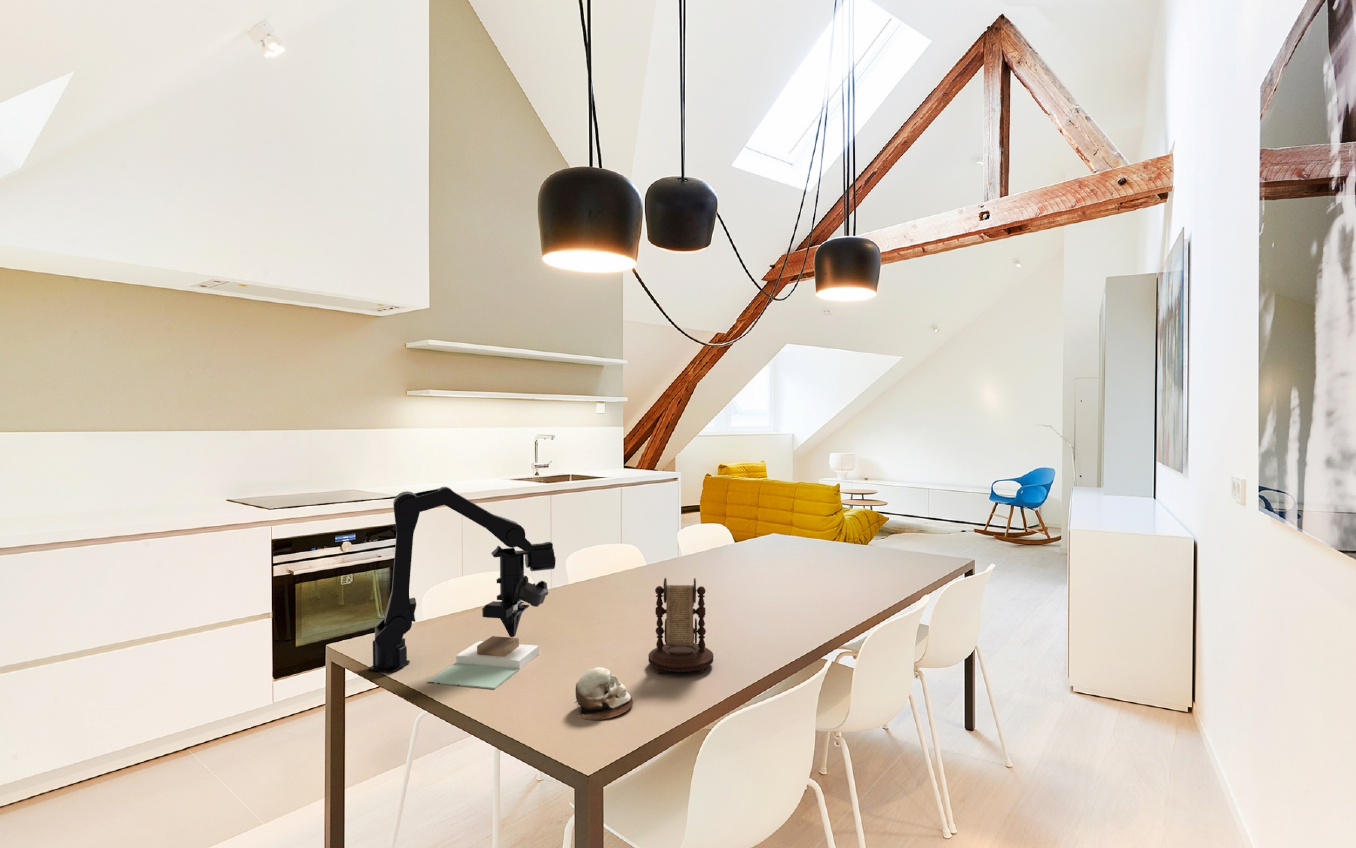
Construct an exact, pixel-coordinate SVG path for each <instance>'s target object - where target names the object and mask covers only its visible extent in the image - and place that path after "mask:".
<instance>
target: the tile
mask: <svg viewBox="0 0 1356 848" xmlns="http://www.w3.org/2000/svg"><path fill="white" fill-rule="evenodd" d="M519 644H520V639H519V637H510V636H509V637H508V636H507V637H506V636H494V635H492V636H490V637H489V638H487V639H486V640H484V642H482V643H481V644H479V645H478V646H477V655H488V656H500V657H505V656H506V655H508V654H509V653H511V652H512V651H513V650H515V649H516V648H518V647H519Z"/></svg>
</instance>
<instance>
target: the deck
mask: <svg viewBox="0 0 1356 848" xmlns="http://www.w3.org/2000/svg"><path fill="white" fill-rule="evenodd" d="M484 641H485V640H484ZM484 641H482V640H481V641H480V640H479V641H477V642H475V643H473V644H472V645H470V646H469V647H467V648H465V649H464V650H462V651H461V652H458V653H457V654H456V655H455V663H461V664H473V665H484V666H496V667H507V668H518V669H519V670H518V671H520V670H521V669H523V668H524V667H525V666H526V665H527V664H528V663H530V662H531V661H532V660H534V659H535V658H536V657H537V656H539V655H540V645H535V644H520V643H519V647H518V648H516V649H515V650H513V651H512V652H511V653H509V654H508V655H506V656H505V657H500V656H488V655H477V646H478V645H479V644H481V643H482V642H484Z"/></svg>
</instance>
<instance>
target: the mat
mask: <svg viewBox="0 0 1356 848" xmlns="http://www.w3.org/2000/svg"><path fill="white" fill-rule="evenodd" d="M518 671H520V670H519V669H518V668H507V667H496V666H484V665H473V664H461V663H456V662H455V663H453V664H452V665H450V666H449V667H447V668H445V669H444V670H442V671H441V672H440V673H438V674H436V675H435V676H433V677H432V678H430V679H429V680H427V682H434V683H433V684H437V683H440V684H439V685H447V686H448V685H449V686H457V685H460V686H459V687H469V688H479V689H480V688H481V689H489V690H496V689H497V688H498V687H500V686H501V685H502V684H503V683H504V682H506V681H507V680H508V679H510V678H511V677H512V676H513V675H515V674H516V673H517V672H518Z"/></svg>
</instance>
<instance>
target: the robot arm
mask: <svg viewBox="0 0 1356 848" xmlns="http://www.w3.org/2000/svg"><path fill="white" fill-rule="evenodd" d="M442 506H446V507H447V508H449V509H451V510H453V511H455V512H456V513H458V514H460V515H461V516H463V517H465V518H467V519H468V520H471V521H472V522H474V523H476V524H477V525H479V526H481V527H483V528H485V529H486V530H487V531H489V532H490V533H491V534H492V535H493V536H494V537H496V538H497V539H498V540H499V541H500V542H501V543H503V544H504V545H505V546H506V548H502V547H501V546H500V545H497V547H496V548H495V549H494V550H493V551H492V552H490V553H491V556H492V557H493V558H499V577H497V578H496V584H499V594H498V595H496V600H494V601H493V600H492V601H491V602H489V603H486V604H485V605H484V606H483V607H482V608H481V613H482V615H481V616H482V617H483V618H487V619H500V621H501V623H502V624H503V626H504V628H505V630H506V632H507V634H508V636H509V637H510V638H515V636H516V634H517V631H518V628H519V623H520V620H521V617H522V615H523V613H524V612H525V610H527V609H528V608H530V606H531V607H536V608H537V607H539V606H540V605H541V604H544V601H545V599H546V597H547V596H548V595H549V592H548V591H549V589H548V583H547V582H546V581H544V580H540V581H539V582H537V583H531V582H529V577H528V575H525V568H528V569H529V571H530V572H538V571H549V570H554V569H555V568H556V556H555V550H554V547H553V545H554V543H553V542H551V541H546V542H543V543H531V542H530V541H529V540H528V539H527V538H526V531H525V529H524V527H523V526H521V524H519V523H518V522H516V521H514V520H511V519H508V518H505V517H503V516H500V515H497V514H494V513H492V512H490V511H488V510H486V509H484V508H483V507H481V506H479V505H477V504H476V503H474V502H472V501H470V500H469V499H468V498H466V497H464V496H462V495H460V494H458V493H457V492H455V491H454V490H452V489H451V488H450V487H448V486H441V487H439V488H435V489H430V490H429V489H428V490H425V491H420V492H412V491H402V492H400V493H398V494H397V495H396V496H395V497H394V499H393V514H394V522H395V529H396V530H395V531H396V535H395V544H394V545H395V546H394V547H395V548H394V558H393V559H394V561H393V572H392V573H393V574H392V584H391V586H392V587H391V592H390V596H389V598H388V602H387V605H386V609H385V613H384V618H383V619H382V620H381V621H380V622H379V623H378V624H377V625H376V626H375V627H374V639H373V640H372V666H369V667H368V668H367V670H368V671H371V672H381V673H394V672H395V673H396V671H398V670H399V669H402V668H403V667H405V666H407V665H409V664H410V660H409V659H408V657H407V656H408V652H407V650H408V649H407V647H408V646H407V645H406V638H404V636H405V635H406V634H407V633H408V632H409V631H410V630H411V628H412V625H413V622H414V623H416V617H415V611H416V609H417V600H416V597H411V598H410V583H411V567H412V560H413V559H412V556H413V546H414V545H413V544H414V541H413V540H414V533H415V530H416V526H417V523H418V521H419V518H420V517H419V516H420V513H422V512H426V511H429V510H432V509H435V508H438V507H442ZM516 547H517V548H519V549H521V550H516V549H515V548H516ZM525 603H527V604H525Z"/></svg>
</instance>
